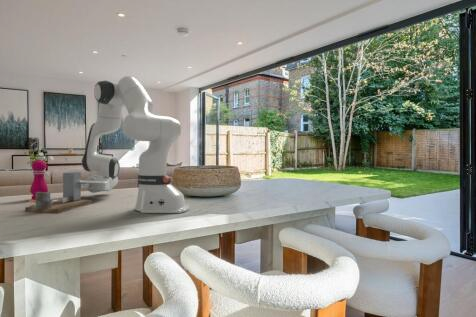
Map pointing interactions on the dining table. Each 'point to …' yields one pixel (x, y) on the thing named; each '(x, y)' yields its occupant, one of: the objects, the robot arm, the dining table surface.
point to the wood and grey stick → (35, 201)
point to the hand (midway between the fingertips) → (78, 186)
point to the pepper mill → (38, 178)
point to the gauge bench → (53, 204)
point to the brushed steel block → (71, 187)
